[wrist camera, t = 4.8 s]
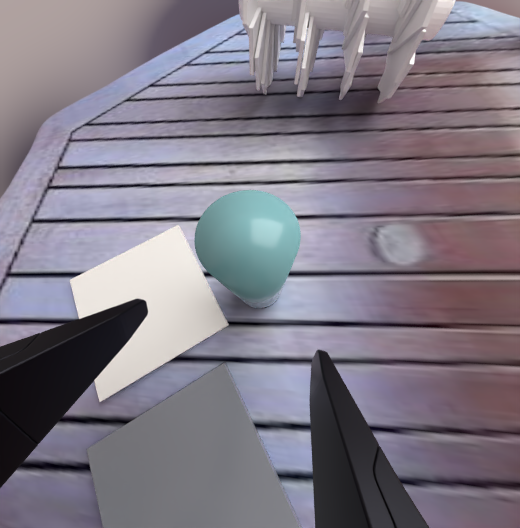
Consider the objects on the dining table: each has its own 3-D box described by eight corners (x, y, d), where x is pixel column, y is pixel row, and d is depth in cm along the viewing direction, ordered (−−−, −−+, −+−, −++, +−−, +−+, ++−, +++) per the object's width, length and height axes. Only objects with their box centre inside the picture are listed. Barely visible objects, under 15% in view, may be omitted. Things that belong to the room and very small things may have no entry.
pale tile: (104, 399, 18) (99, 402, 18) (74, 281, 22) (69, 280, 22) (229, 325, 20) (227, 325, 19) (180, 227, 24) (178, 225, 23)
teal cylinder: (251, 317, 20) (223, 308, 8) (230, 278, 21) (178, 218, 9) (289, 293, 21) (322, 250, 8) (267, 258, 22) (265, 175, 10)
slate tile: (139, 659, 13) (133, 675, 12) (92, 445, 17) (86, 449, 16) (302, 530, 15) (304, 538, 14) (225, 361, 19) (223, 363, 18)
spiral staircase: (380, 135, 32) (242, 117, 33) (407, 19, 30) (257, 3, 31) (516, 6, 14) (207, -24, 15) (615, -318, 12) (236, -327, 13)
